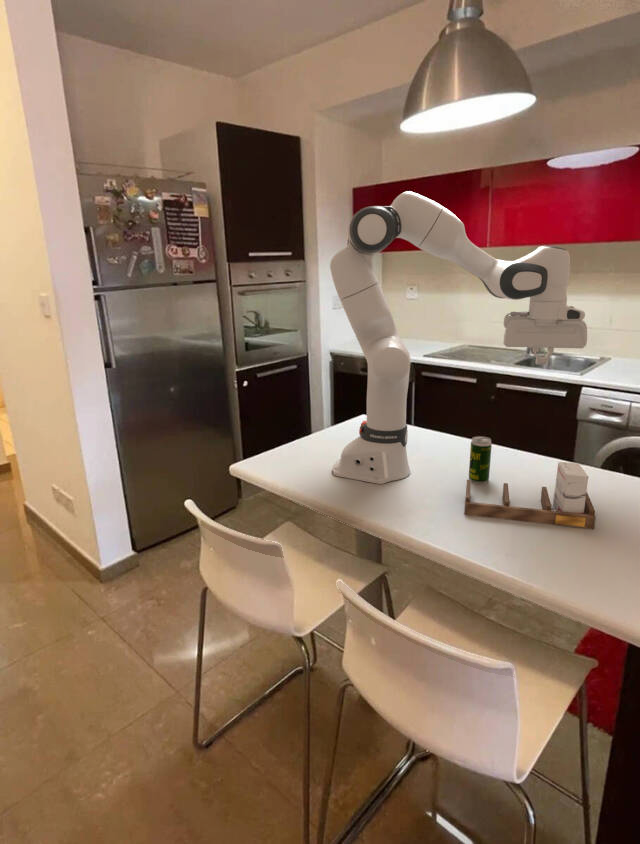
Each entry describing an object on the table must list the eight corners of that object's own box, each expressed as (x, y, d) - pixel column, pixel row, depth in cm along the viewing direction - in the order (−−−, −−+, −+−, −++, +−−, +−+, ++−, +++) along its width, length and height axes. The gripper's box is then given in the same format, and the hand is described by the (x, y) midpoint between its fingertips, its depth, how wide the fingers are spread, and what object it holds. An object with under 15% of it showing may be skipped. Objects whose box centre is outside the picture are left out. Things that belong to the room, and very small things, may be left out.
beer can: (477, 474, 145) (480, 434, 141) (492, 481, 140) (496, 440, 137) (464, 479, 142) (466, 438, 138) (479, 485, 138) (482, 444, 134)
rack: (464, 515, 122) (465, 500, 121) (466, 493, 133) (467, 479, 132) (594, 530, 114) (596, 513, 113) (584, 505, 125) (586, 490, 124)
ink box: (583, 524, 117) (590, 476, 113) (560, 522, 118) (566, 475, 114) (573, 506, 125) (579, 462, 121) (551, 505, 126) (557, 460, 122)
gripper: (505, 312, 133) (500, 365, 137) (592, 312, 127) (584, 367, 131) (504, 310, 139) (500, 360, 143) (587, 310, 133) (580, 363, 137)
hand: (541, 364), depth 137 cm, fingers closed
